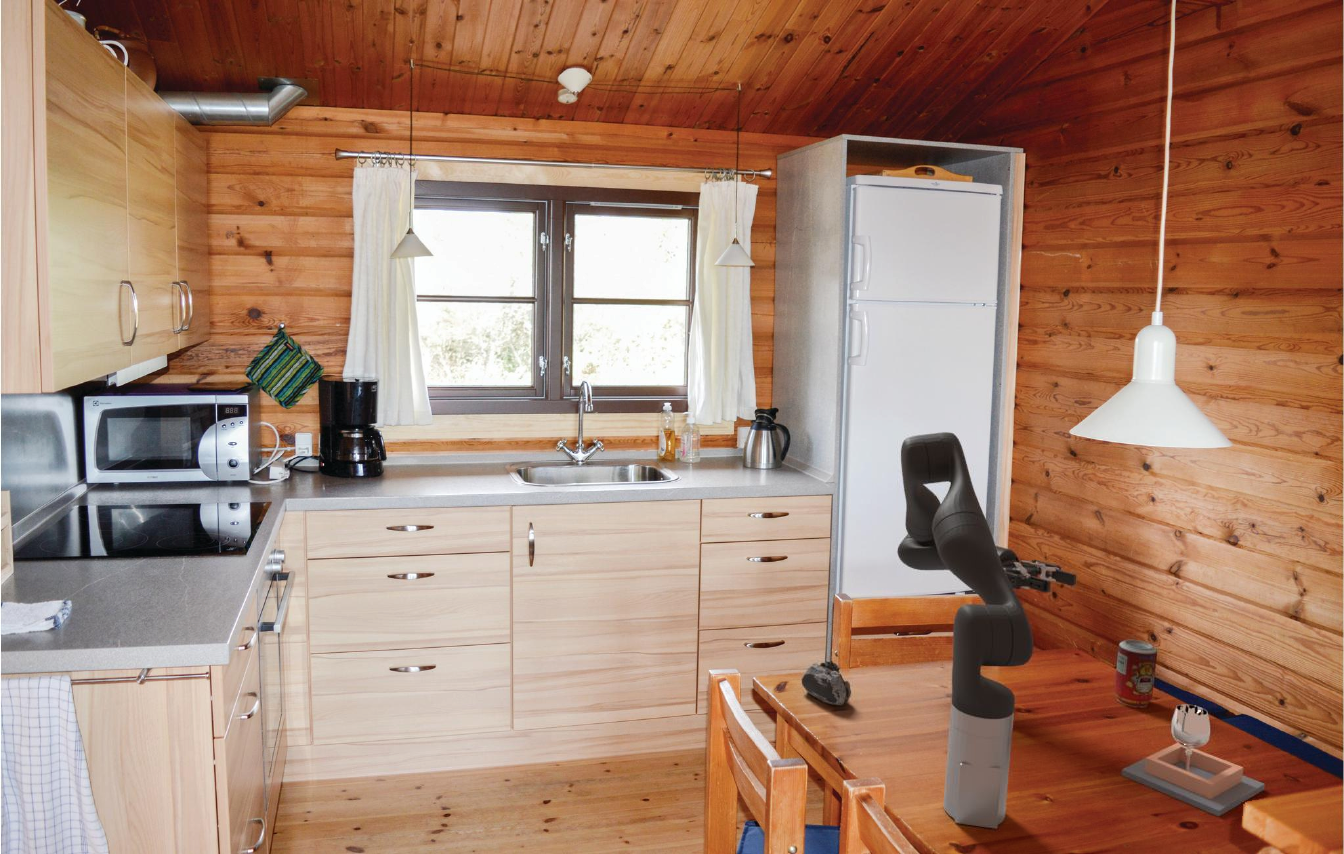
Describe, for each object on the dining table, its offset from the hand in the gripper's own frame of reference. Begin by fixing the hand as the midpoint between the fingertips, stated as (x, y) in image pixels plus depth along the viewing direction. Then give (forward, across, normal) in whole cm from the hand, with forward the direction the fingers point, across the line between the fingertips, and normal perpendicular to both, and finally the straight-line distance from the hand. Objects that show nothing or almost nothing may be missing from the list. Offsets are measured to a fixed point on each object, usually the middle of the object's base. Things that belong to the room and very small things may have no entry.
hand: (1062, 583), depth 181 cm
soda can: (+3, +26, +28) cm, 38 cm away
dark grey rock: (-32, -25, +28) cm, 50 cm away
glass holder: (+26, +1, +28) cm, 38 cm away
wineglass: (+26, -1, +27) cm, 37 cm away
